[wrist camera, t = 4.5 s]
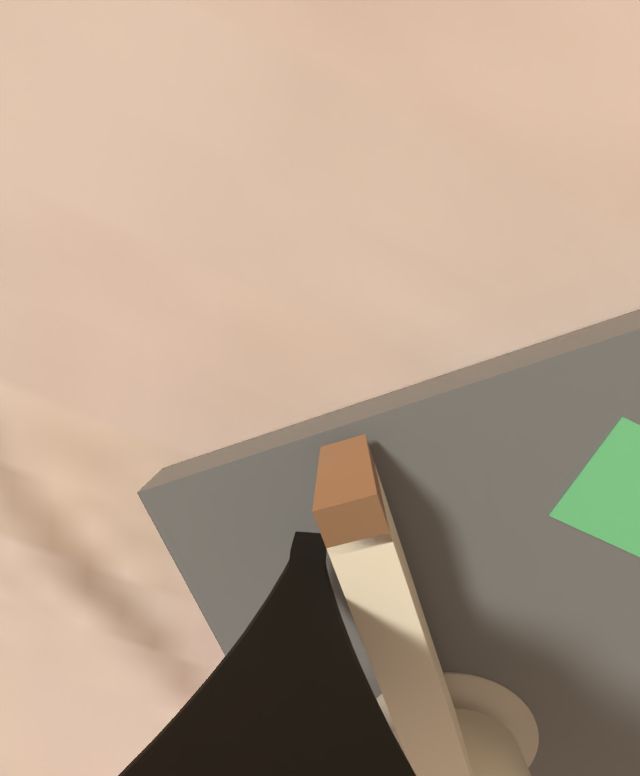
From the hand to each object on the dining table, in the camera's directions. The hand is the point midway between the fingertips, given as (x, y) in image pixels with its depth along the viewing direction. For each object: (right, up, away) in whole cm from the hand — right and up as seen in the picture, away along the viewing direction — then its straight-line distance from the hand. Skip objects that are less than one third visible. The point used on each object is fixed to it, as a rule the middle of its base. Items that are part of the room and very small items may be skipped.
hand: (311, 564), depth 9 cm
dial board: (+7, -2, +3) cm, 8 cm away
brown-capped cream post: (+3, -3, +1) cm, 5 cm away
